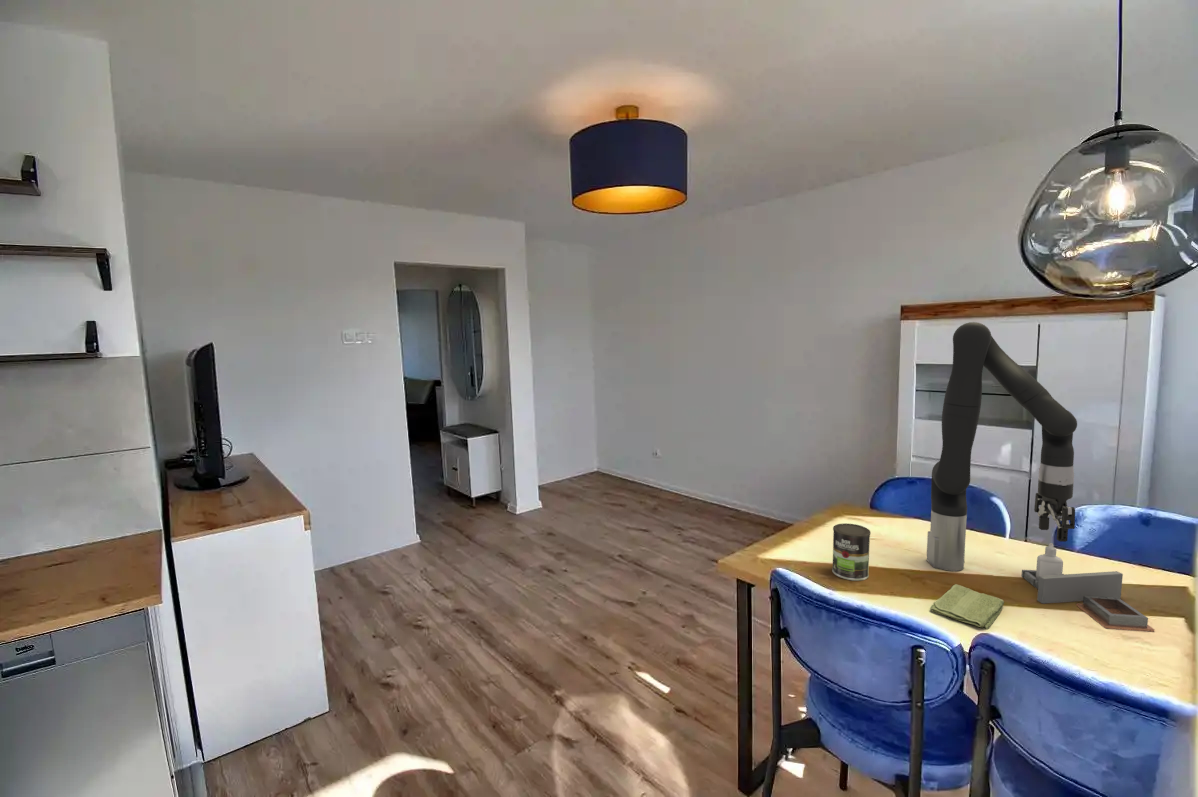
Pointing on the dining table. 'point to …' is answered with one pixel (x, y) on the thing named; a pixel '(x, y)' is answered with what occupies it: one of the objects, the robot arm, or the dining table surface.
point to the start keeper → (1031, 577)
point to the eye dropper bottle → (1049, 563)
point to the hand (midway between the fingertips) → (1052, 535)
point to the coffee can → (851, 551)
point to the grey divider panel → (1079, 586)
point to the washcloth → (968, 606)
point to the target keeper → (1114, 613)
